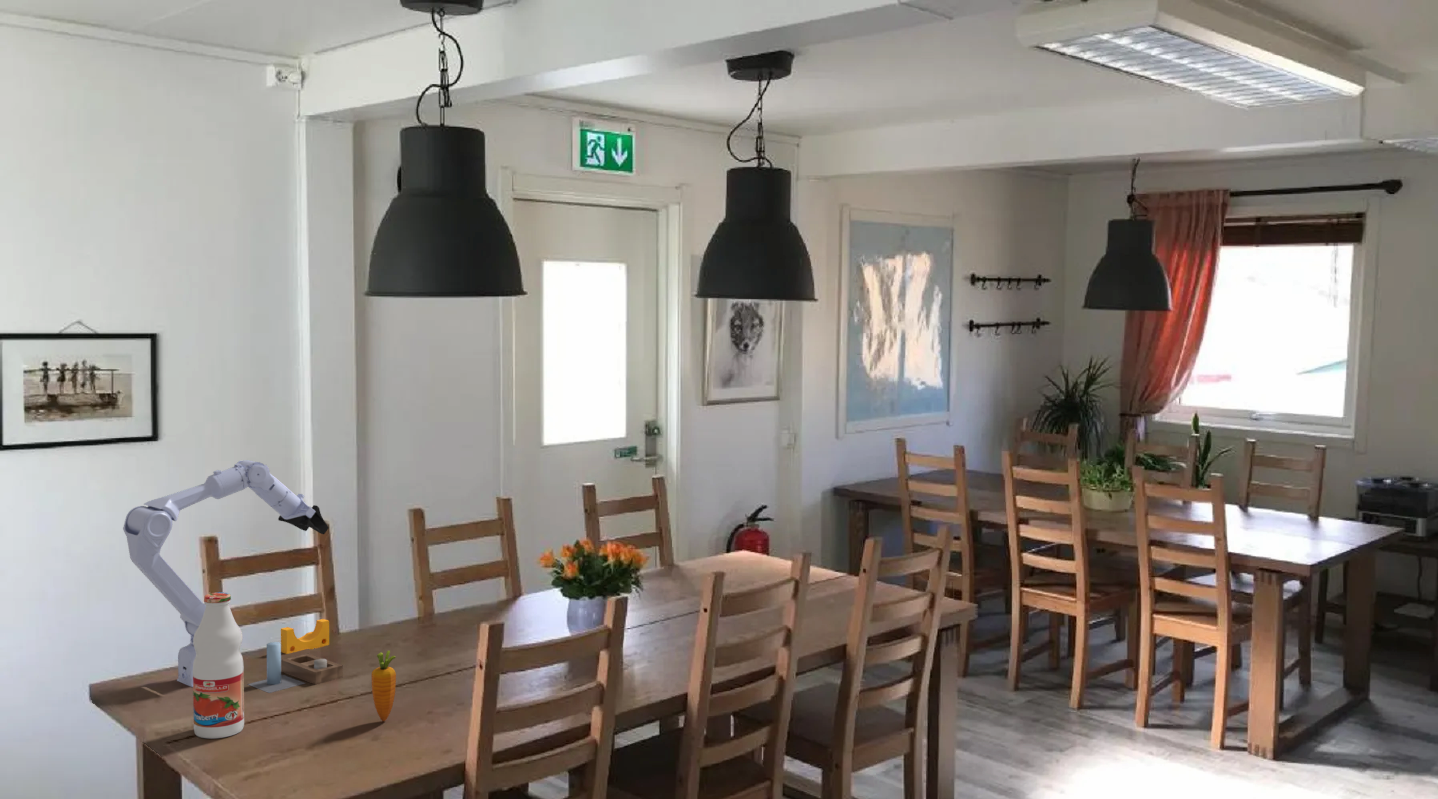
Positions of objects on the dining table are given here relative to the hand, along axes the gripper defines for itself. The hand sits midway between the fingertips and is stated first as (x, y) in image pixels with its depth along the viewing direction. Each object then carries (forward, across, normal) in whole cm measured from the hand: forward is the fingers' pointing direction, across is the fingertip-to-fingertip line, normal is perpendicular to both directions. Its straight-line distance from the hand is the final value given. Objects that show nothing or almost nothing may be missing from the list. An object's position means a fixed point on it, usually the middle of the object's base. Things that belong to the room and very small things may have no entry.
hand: (316, 529), depth 287 cm
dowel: (+7, -12, +36) cm, 39 cm away
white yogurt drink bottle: (-9, -30, +52) cm, 61 cm away
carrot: (+10, -50, +36) cm, 62 cm away
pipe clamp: (+22, +8, +23) cm, 32 cm away
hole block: (+14, -13, +30) cm, 36 cm away
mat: (+7, -13, +36) cm, 39 cm away
